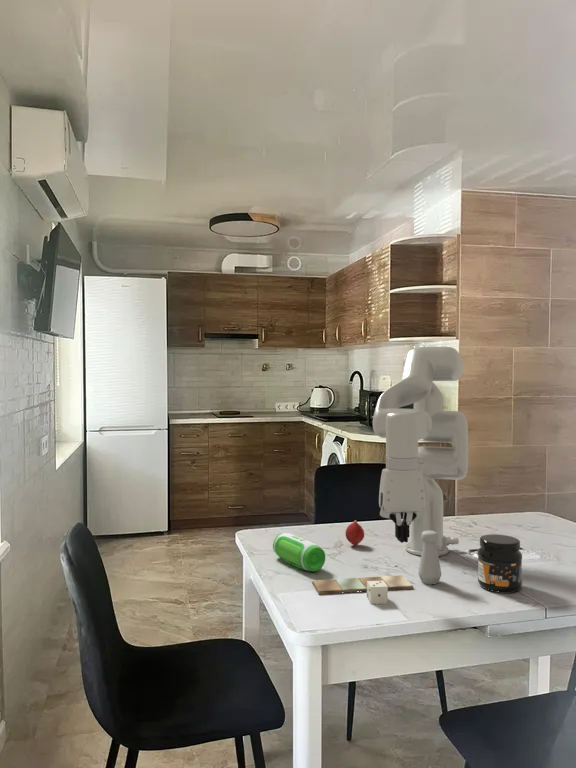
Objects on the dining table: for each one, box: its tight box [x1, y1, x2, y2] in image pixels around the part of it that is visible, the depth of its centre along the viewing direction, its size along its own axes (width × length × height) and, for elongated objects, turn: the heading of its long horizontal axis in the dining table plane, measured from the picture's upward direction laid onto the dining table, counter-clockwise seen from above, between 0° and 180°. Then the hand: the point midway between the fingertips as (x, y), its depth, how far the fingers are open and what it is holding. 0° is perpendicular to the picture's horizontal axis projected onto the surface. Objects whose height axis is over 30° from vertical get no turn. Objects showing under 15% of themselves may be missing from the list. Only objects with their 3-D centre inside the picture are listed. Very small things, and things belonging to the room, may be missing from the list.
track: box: [311, 575, 414, 596], centre depth 149 cm, size 24×8×1 cm, turn 99°
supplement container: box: [477, 533, 523, 593], centre depth 148 cm, size 10×10×12 cm
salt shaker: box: [417, 531, 442, 585], centre depth 151 cm, size 6×6×13 cm
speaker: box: [272, 532, 326, 572], centre depth 166 cm, size 18×7×8 cm, turn 32°
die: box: [366, 581, 389, 605], centre depth 139 cm, size 4×4×4 cm
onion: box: [344, 520, 365, 547], centre depth 184 cm, size 6×6×8 cm
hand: (402, 540), depth 140 cm, fingers closed
